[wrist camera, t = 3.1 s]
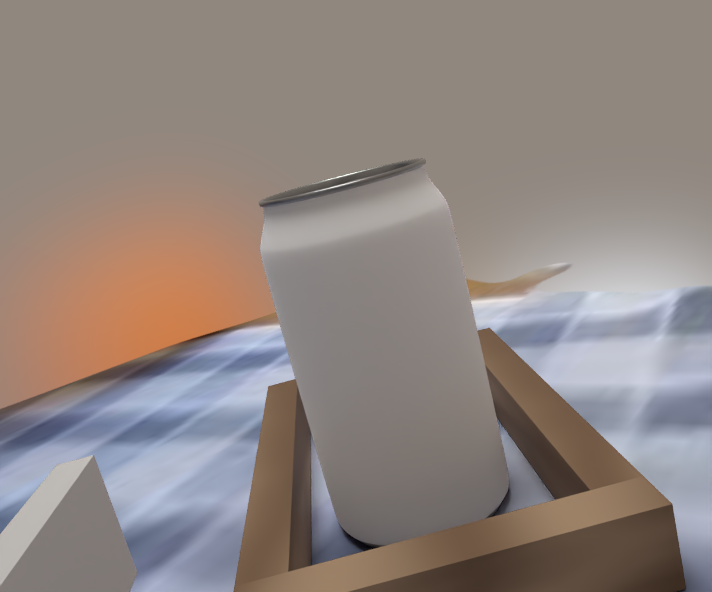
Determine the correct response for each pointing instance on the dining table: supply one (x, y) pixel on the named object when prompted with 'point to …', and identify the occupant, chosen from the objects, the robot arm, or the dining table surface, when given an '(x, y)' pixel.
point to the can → (385, 351)
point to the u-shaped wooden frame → (480, 538)
